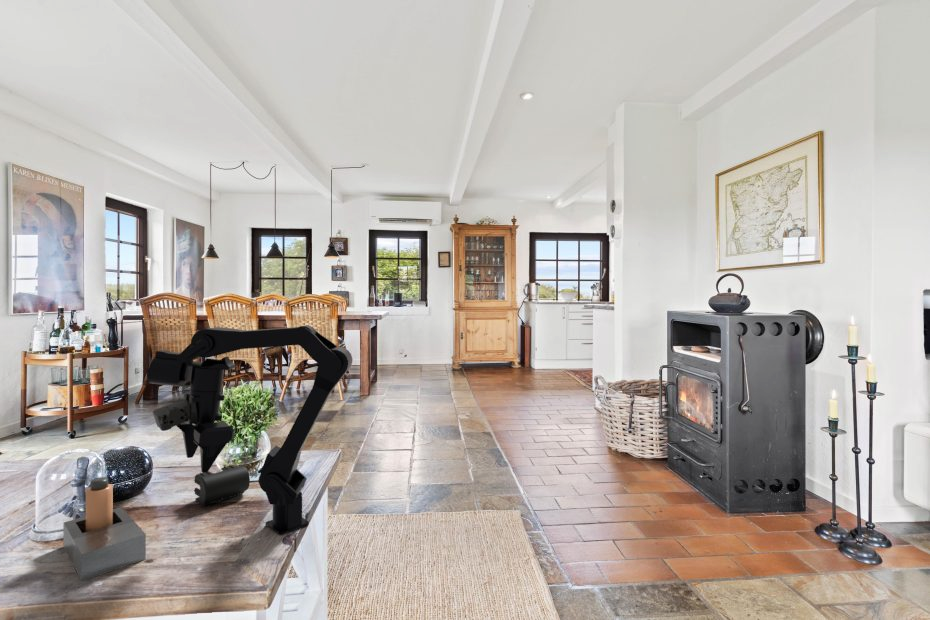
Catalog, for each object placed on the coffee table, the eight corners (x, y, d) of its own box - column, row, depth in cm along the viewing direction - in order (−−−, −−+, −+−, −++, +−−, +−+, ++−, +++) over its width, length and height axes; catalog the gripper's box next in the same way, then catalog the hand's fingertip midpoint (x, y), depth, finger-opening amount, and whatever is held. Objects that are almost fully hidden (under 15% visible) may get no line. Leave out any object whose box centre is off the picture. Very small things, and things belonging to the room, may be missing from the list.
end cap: (205, 510, 103) (206, 480, 103) (192, 501, 108) (192, 472, 107) (250, 496, 111) (250, 468, 111) (235, 488, 115) (236, 461, 115)
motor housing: (145, 559, 84) (145, 534, 84) (81, 581, 77) (81, 554, 77) (121, 529, 94) (121, 507, 94) (63, 546, 87) (63, 522, 87)
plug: (117, 543, 89) (117, 478, 89) (93, 553, 85) (93, 485, 85) (104, 538, 90) (104, 474, 90) (80, 548, 87) (80, 481, 87)
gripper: (147, 381, 95) (138, 456, 96) (174, 402, 83) (164, 489, 83) (206, 379, 104) (198, 448, 104) (239, 398, 91) (230, 477, 91)
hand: (197, 464), depth 95 cm, fingers open, 9 cm apart
